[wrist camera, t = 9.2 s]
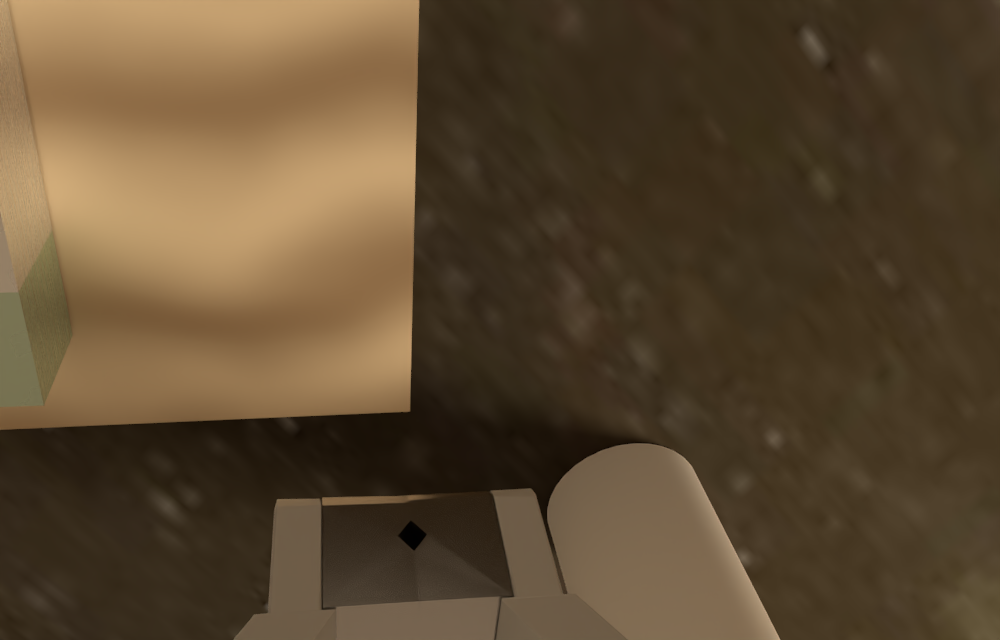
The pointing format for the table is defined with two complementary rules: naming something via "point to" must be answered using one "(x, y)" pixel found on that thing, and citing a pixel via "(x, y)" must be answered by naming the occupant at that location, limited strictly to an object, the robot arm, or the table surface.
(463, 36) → the table surface
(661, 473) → the cylindrical container
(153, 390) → the cutting board
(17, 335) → the bar
